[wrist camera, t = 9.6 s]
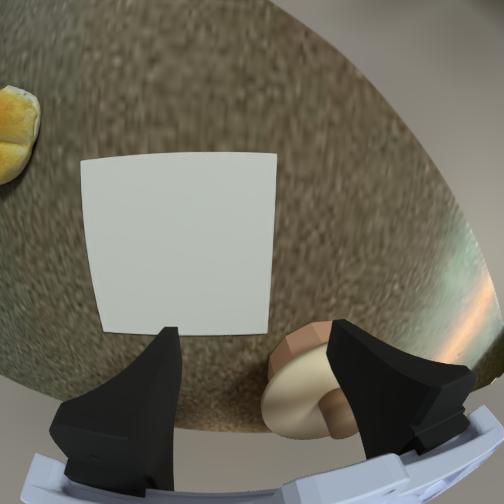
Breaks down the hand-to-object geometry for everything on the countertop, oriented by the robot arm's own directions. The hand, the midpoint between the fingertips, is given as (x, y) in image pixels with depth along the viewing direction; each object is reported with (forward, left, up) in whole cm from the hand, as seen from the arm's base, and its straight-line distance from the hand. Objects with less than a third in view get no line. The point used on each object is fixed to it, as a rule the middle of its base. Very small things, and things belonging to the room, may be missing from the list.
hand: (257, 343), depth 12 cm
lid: (-11, -8, -5) cm, 14 cm away
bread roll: (+12, +21, -11) cm, 27 cm away
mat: (+1, +5, -10) cm, 12 cm away
